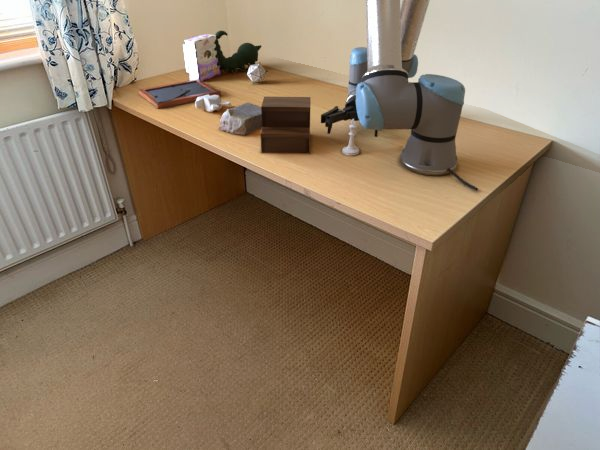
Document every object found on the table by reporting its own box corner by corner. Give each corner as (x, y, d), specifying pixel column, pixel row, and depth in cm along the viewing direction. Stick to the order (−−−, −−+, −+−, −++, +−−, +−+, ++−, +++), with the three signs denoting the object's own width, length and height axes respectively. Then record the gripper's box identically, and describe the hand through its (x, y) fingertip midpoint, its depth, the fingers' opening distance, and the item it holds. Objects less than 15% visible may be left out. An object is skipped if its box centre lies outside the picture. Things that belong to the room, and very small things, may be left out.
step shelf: (309, 153, 125) (310, 113, 119) (261, 152, 126) (259, 112, 119) (309, 134, 137) (310, 97, 130) (265, 133, 137) (264, 96, 130)
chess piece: (354, 157, 124) (357, 123, 118) (339, 153, 126) (341, 120, 120) (362, 150, 127) (365, 118, 121) (347, 147, 129) (349, 114, 124)
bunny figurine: (210, 91, 160) (233, 96, 150) (213, 104, 162) (235, 110, 152) (188, 96, 155) (210, 102, 145) (190, 110, 157) (212, 117, 147)
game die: (261, 92, 183) (266, 77, 174) (241, 85, 181) (246, 69, 173) (266, 76, 187) (271, 60, 178) (247, 69, 185) (251, 53, 176)
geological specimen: (273, 108, 142) (241, 119, 131) (272, 126, 145) (241, 138, 135) (249, 101, 147) (216, 111, 137) (249, 118, 150) (217, 129, 140)
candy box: (210, 72, 194) (206, 33, 185) (221, 74, 192) (216, 34, 182) (189, 80, 184) (183, 39, 175) (199, 82, 182) (194, 41, 172)
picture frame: (157, 108, 156) (220, 95, 168) (156, 103, 155) (219, 90, 167) (139, 94, 169) (198, 83, 181) (138, 88, 168) (197, 78, 180)
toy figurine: (222, 81, 189) (269, 66, 201) (214, 35, 178) (264, 22, 189) (212, 76, 196) (258, 62, 207) (203, 31, 184) (252, 19, 195)
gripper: (394, 119, 142) (394, 146, 125) (318, 114, 145) (309, 140, 128) (397, 96, 138) (398, 121, 121) (319, 92, 141) (309, 115, 124)
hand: (352, 130), depth 124 cm, fingers open, 13 cm apart
